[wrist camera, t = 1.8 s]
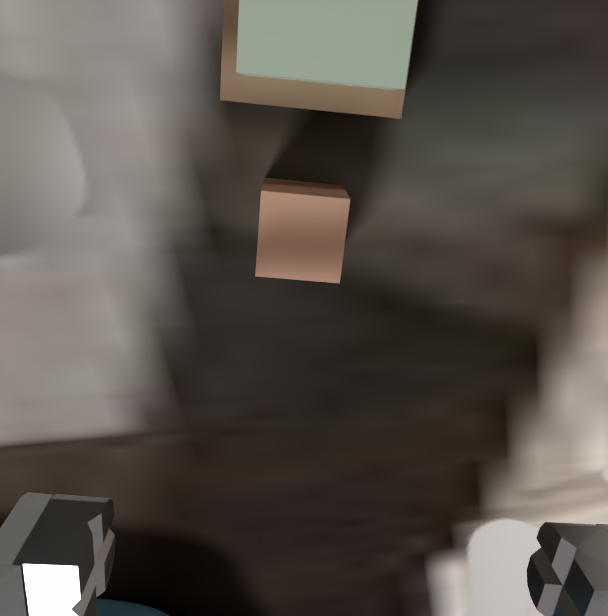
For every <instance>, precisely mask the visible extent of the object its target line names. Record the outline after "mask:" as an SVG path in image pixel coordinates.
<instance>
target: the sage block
mask: <svg viewBox="0 0 608 616" xmlns="http://www.w3.org/2000/svg"><path fill="white" fill-rule="evenodd" d="M417 2H418V0H239V16H238V40H237V64H236V72H237V73H239V74H242V75H249V76H259V77H269V78H279V79H289V80H299V81H309V82H319V83H329V84H339V85H349V86H359V87H369V88H379V89H389V90H393V89H405V84H406V77H407V70H408V63H409V57H410V50H411V43H412V36H413V30H414V23H415V16H416V9H417Z"/></svg>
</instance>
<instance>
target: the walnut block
mask: <svg viewBox="0 0 608 616" xmlns="http://www.w3.org/2000/svg"><path fill="white" fill-rule="evenodd" d="M418 5H419V0H418V2H417V9H416V16H415V23H414V30H413V36H412V43H411V50H412V44H413V37H414V31H415V24H416V18H417V11H418ZM238 16H239V0H224V10H223V36H222V62H221V88H220V100H224V101H234V102H244V103H253V104H263V105H273V106H282V107H292V108H302V109H311V110H321V111H331V112H340V113H350V114H360V115H370V116H379V117H389V118H399V119H401V115H402V109H403V102H404V96H405V89H406V84H405V89H393V90H389V89H379V88H369V87H359V86H349V85H339V84H329V83H319V82H309V81H299V80H289V79H279V78H269V77H259V76H249V75H242V74H239V73H237V72H236V64H237V40H238ZM411 50H410V57H411ZM410 57H409V63H410ZM409 63H408V70H409ZM408 70H407V76H408ZM406 83H407V77H406Z"/></svg>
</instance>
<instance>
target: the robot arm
mask: <svg viewBox="0 0 608 616" xmlns="http://www.w3.org/2000/svg"><path fill="white" fill-rule="evenodd" d="M113 518H114V507H113V501H112V500H111V499H110V498H97V497H84V496H72V495H59V494H56V495H51V494H39V493H27V494H25V495H24V496H22V497H21V498H20V499H19V501H18V502H17V504H16V505H15V507H14V508H13V510H12V511H11V513H10V514H9V516H8V517H7V519H6V520H5V522H4V523H3V525H2V526H1V528H0V616H96V615H97V597H98V596H99V595H100V594H102V593H103V592H104V591H105V590H106V587H107V584H108V581H109V579H110V576H111V571H112V566H113V562H114V554H115V535H114V533H113V532H112V531H111V530H110V529H109V528H110V525H111V523H112V520H113ZM537 540H538V542H539V544H540V546H541V548H540V549H539V550H537V551H536V552H535V553H534V554H533V555H531V557H530V561H529V564H528V568H527V583H528V588H529V592H530V596H531V598H532V600H533V603H534V605H535V607H536V609H537V610H538V611H539V612H540V613H542V614H543V615H544V616H608V525H606V524H596V525H593V524H574V523H552V522H545V523H544V524H543V525H542V526H541V527H540V529H539V532H538V535H537Z"/></svg>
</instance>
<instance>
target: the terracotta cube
mask: <svg viewBox="0 0 608 616" xmlns="http://www.w3.org/2000/svg"><path fill="white" fill-rule="evenodd" d="M349 207H350V197H349V196H348V194H347V192H346V191H345V189H344V187H343V185H337V184H326V183H316V182H305V181H295V180H284V179H274V178H265V179H264V182H263V186H262V190H261V202H260V216H259V231H258V246H257V260H256V275H255V276H259V277H271V278H283V279H295V280H307V281H319V282H331V283H340V276H341V269H342V261H343V253H344V245H345V238H346V230H347V222H348V214H349Z"/></svg>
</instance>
